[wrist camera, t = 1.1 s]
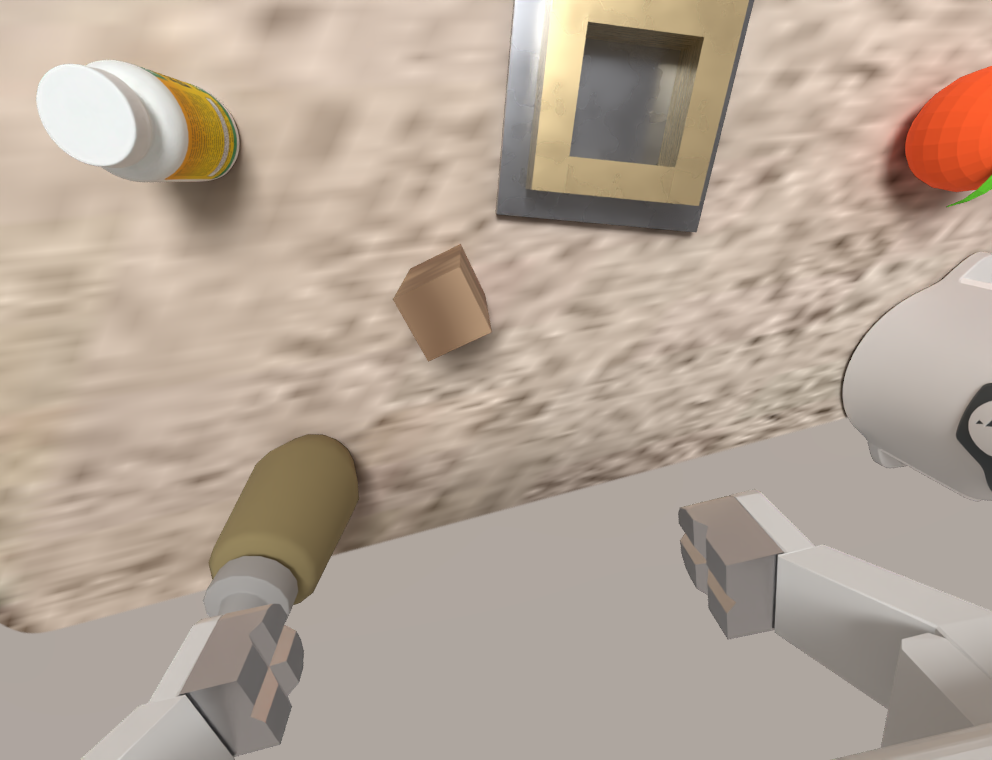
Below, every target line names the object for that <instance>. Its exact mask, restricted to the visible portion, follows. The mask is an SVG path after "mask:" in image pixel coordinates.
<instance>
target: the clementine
mask: <svg viewBox="0 0 992 760" xmlns="http://www.w3.org/2000/svg"><path fill="white" fill-rule="evenodd" d="M905 154H906V158H907V161H908V165H909V168H910V170H911V171H912V172H913V174H914V175H915V176H916V177H917V178H918V179H920V180H921V181H923V182H924V183H926V184H927V185H929V186H931V187H933V188H938V189H943V190H948V191H953V192H960V191H969V190H976V191H975V192H973V193H972V194H970V195H969V196H968V197H966V198H965V199H963V200H961V201H958V202H956V203H954V204H951V205H949V206H953V205H956V204H960V203H964V202H967V201H970V200H972V199H974V198H976V197H978V196H980V195H982V194H985V193H986V192H988V191H989V190H991V189H992V66H990V67H987V68H984V69H981V70H979V71H976V72H973V73H971V74H968V75H965V76H963V77H960V78H959V79H957V80H956V81H954V82H953V83H951V84H950V85H948V86H947V87H945V88H944V89H942V90H941V91H939V92H938V93H937V94H935V95H934V96H933V97H932V98H931V99H930V100H929V101H928V102H927V103H926V104H925V105H924V107H923V108H922V109H921V111H920V112H919V114H918V115H917V117H916V118H915V119H914V121H913V122H912V125H911V127H910V129H909V131H908V134H907V138H906V143H905ZM949 206H947V207H949Z"/></svg>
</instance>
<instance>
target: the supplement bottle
mask: <svg viewBox="0 0 992 760" xmlns="http://www.w3.org/2000/svg"><path fill="white" fill-rule="evenodd" d="M36 101H37V108H38V113H39V116H40V119H41V121H42V124H43V126H44V128H45V129H46V131H47V133H48V134H49V135H50V137H51V138H52V140H53V141H54V142H55V143H56V144H57V145H58V146H59V147H60V148H61V149H62V150H63V151H64V152H66V153H67V154H68V155H70V156H71V157H73V158H75V159H77V160H79V161H81V162H83V163H86V164H89V165H93V166H99V167H102V168H103V169H105V170H106V171H108V172H110V173H112V174H114V175H116V176H118V177H121V178H123V179H127V180H131V181H136V182H199V181H211V180H215V179H217V178H220V177H222V176H224V175H225V174H226V173H227V172H228V171H229V170H230V169H231V168H232V166H233V165H234V163H235V161H236V159H237V156H238V153H239V134H238V130H237V127H236V124H235V122H234V120H233V117H232V116H231V114H230V113H229V111H228V110H227V109H226V108H225V106H224V105H223V104H222V103H221V102H220V101H219V100H218V99H217V98H215V97H214V96H213V95H212V94H210V93H209V92H207V91H205V90H203V89H202V88H199V87H197V86H194V85H191V84H189V83H185V82H182V81H179V80H177V79H174V78H171V77H168V76H165V75H162V74H159V73H156V72H154V71H151V70H148V69H145V68H142V67H139V66H136V65H133V64H130V63H126V62H122V61H117V60H101V61H96V62H92V63H90V64H87V65H85V66H84V65H79V64H63V65H59V66H56V67H54V68H52V69H51V70H49V71H48V72H47V73H46V74H45V75H44V76H43V78H42V79H41V81H40V83H39V85H38V89H37V97H36Z"/></svg>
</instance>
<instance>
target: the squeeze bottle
mask: <svg viewBox="0 0 992 760" xmlns="http://www.w3.org/2000/svg"><path fill="white" fill-rule="evenodd" d="M358 500H359V494H358V481H357V476H356V471H355V466H354V461H353V458H352V457H351V455H350V453H349V451H348V449H347V448H346V447H344V446H343V445H342V444H341V443H340V442H338V441H337V440H335V439H333V438H330V437H327V436H324V435H310V434H308V435H305V436H302V437H299V438H296V439H294V440H292V441H290V442H288V443H286V444H284V445H282V446H280V447H278V448H276V449H274V450H272V451H270V452H269V453H268V454H267V455H266V456H265V457H264V458H262V459H261V460H260V461H259V462H258V463H257V464H256V465H255V467H254V469H253V471H252V473H251V475H250V477H249V479H248V481H247V483H246V485H245V487H244V489H243V491H242V493H241V495H240V497H239V499H238V501H237V503H236V505H235V507H234V509H233V511H232V513H231V515H230V517H229V519H228V521H227V523H226V524H225V526H224V528H223V530H222V532H221V534H220V536H219V538H218V540H217V542H216V544H215V546H214V548H213V551H212V554H211V557H210V560H209V567H210V571H211V576H212V579H213V580H212V582H211V584H210V585H209V587H208V589H207V591H206V594H205V597H204V600H203V601H204V605H205V609H206V613H207V614H208V615H209V617H214V616H219V615H224V614H226V613H231V612H235V611H240V610H245V609H250V608H255V607H259V606H264V605H269V604H281V606H282V608H283V609H284V611H285V612H286V614H287V615H288V616H289V613H290V611H291V609H292V606H293V605H295V604H298V603H300V602H302V601H303V600H304V599H306V598H307V597H308V596H309V595H311V594H312V593H313V592H314V590H315V588H316V586H317V584H318V582H319V580H320V578H321V576H322V573H323V572H324V570H325V567H326V565H327V563H328V561H329V559H330V557H331V555H332V553H333V551H334V549H335V547H336V545H337V543H338V541H339V539H340V537H341V535H342V533H343V531H344V529H345V527H346V525H347V523H348V521H349V519H350V517H351V515H352V513H353V511H354V508H355V506H356V504H357V502H358ZM288 616H287V618H288ZM286 620H287V619H286ZM285 622H286V621H285Z"/></svg>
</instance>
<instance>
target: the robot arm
mask: <svg viewBox="0 0 992 760" xmlns="http://www.w3.org/2000/svg"><path fill="white" fill-rule="evenodd" d="M843 404H844V408H845V412H846V414H847V416H848V418H849V420H850V422H851V423H852V424H853V426H854V427H855V428H856V429H857V430H858V431H859V432H860V433H862V434H863V435H864V437H865V438H866V439H867V441H868V445H869V450H870V454H871V457H872V459H873V460H874V461H875V462H876V463H878V464H880V465H882V466H884V467H886V468H896V467H904V466H909V467H911V468H913V469H915V470H916V471H918V472H920V473H921V474H923V475H925V476H927V477H928V478H930V479H932V480H934V481H936V482H938V483H939V484H941V485H943V486H945V487H947V488H948V489H950V490H952V491H954V492H956V493H957V494H959V495H961V496H963V497H965V498H967V499H970V500H973V501H981V500H992V253H989V252H984V251H981V252H977V253H974V254H972V255H971V256H969V257H968V258H966V259H965V260H964V261H963V262H961V263H960V264H959V265H958V266H957V267H956V268H954V269H953V270H952V271H951V272H950V273H949V274H948V275H947V276H946V277H945V278H944V279H942V280H941V281H939V282H938V283H936V284H934V285H932V286H930V287H928V288H926V289H924V290H922V291H920V292H918V293H916V294H914V295H912V296H911V297H909V298H907V299H905V300H904V301H902V302H901V303H899V304H898V305H896V306H895V307H894V308H892V309H891V310H890V311H889V312H887V313H886V314H885V315H884V316H883V317H882V318H881V319H880V320H879V321H878V322H877V323H876V324H875V325H874V326H873V327H872V328H871V329H870V330H869V332H868V333H867V334H866V335H865V337H864V338H863V339H862V341H861V342H860V344H859V345H858V347H857V349H856V350H855V352H854V354H853V356H852V358H851V360H850V362H849V365H848V368H847V371H846V374H845V378H844V383H843ZM678 515H679V524H680V526H681V527H682V529H683V530H684V532H685V534H684V536H683V537H682V539H681V540H680V544H681V553H682V557H683V560H684V563H685V567H686V569H687V571H688V574H689V576H690V578H691V580H692V581H693V583H694V585H695V587H696V588H697V589H698V590H700V591H702V592H703V593H705V594H707V595H708V606H709V610H710V611H711V613H712V615H713V616H714V618H715V619H716V621H717V623H718V624H719V626H720V628H721V629H722V631H723V633H724V634H725V635H726V637H727V639H732V638H737V637H742V636H747V635H752V634H757V633H762V632H767V631H771V630H775V633H776V634H778V635H779V636H781V637H782V638H784V639H785V640H786V641H788V642H789V643H791V644H792V645H794V646H795V647H797V648H798V649H800V650H801V651H803V652H804V653H806V654H807V655H809V656H810V657H811V658H813V659H815V660H816V661H817V662H819V663H820V664H822V665H823V666H825V667H826V668H828V669H829V670H831V671H832V672H834V673H835V674H837V675H838V676H840V677H841V678H842V679H844V680H845V681H847V682H848V683H850V684H851V685H853V686H854V687H856V688H857V689H859V690H860V691H862V692H863V693H865V694H866V695H868V696H869V697H871V698H872V699H873V700H875V701H876V702H878V703H879V704H881V705H882V706H884V707H885V708H887V709H888V712H887V718H886V723H885V728H884V733H883V738H882V743H881V748H878V749H874V750H870V751H866V752H861V753H857V754H853V755H849V756H845V757H840V758H836V759H832V760H992V611H990V610H988V609H985V608H983V607H980V606H978V605H975V604H972V603H970V602H967V601H965V600H963V599H960V598H958V597H955V596H952V595H950V594H947V593H945V592H942V591H940V590H937V589H935V588H932V587H930V586H927V585H925V584H922V583H920V582H917V581H914V580H912V579H910V578H907V577H904V576H902V575H900V574H897V573H894V572H892V571H889V570H887V569H884V568H882V567H879V566H877V565H874V564H872V563H869V562H867V561H864V560H862V559H859V558H857V557H854V556H852V555H849V554H846V553H844V552H841V551H839V550H836V549H834V548H831V547H829V546H826V545H819V546H815V545H814V544H813V543H812V542H811V541H810V540H809V539H808V538H807V537H806V536H805V535H804V534H803V533H802V532H801V531H800V530H799V529H798V528H797V527H796V526H794V524H792V522H791V521H790V520H789V519H787V518H786V517H785V515H783V513H781V512H780V511H779V510H778V509H777V508H776V507H775V506H774V505H773V504H772V503H771V502H770V501H769V500H768V499H767V498H766V497H765V496H764V495H763V494H762V493H761V492H760V491H758V490H756V489H752V490H748V491H744V492H740V493H736V494H733V495H729V496H725V497H721V498H717V499H713V500H709V501H705V502H701V503H697V504H692V505H689V506H684V507H681V508H680V510H679V514H678ZM287 616H288V615H287V614H286V612H285V611H284V609H283V608H282V606H281V604H269V605H264V606H259V607H255V608H250V609H245V610H240V611H235V612H231V613H226V614H224V615H219V616H214V617H209V618H205V619H201V620H200V621H198V622H197V623H196V624H194V625H193V627H192V628H191V630H190V632H189V634H188V635H187V637H186V639H185V640H184V642H183V644H182V646H181V647H180V649H179V651H178V652H177V654H176V656H175V658H174V659H173V661H172V663H171V665H170V666H169V668H168V670H167V671H166V673H165V675H164V676H163V678H162V680H161V682H160V683H159V685H158V687H157V688H156V690H155V692H154V694H153V696H152V697H151V699H150V701H149V702H148V703H147V704H143V705H140V706H138V707H137V708H136V709H135V710H134V711H133V712H132V713H131V714H130V715H128V716H127V717H126V718H125V719H124V720H123V721H122V722H121V723H120V724H119V725H117V726H116V727H115V728H114V729H113V730H112V731H111V732H110V733H109V734H108V735H107V736H105V737H104V738H103V739H102V740H101V741H100V742H99V743H98V744H97V745H96V746H95V747H93V748H92V749H91V750H90V751H89V752H88V753H87V754H86V755H85V756H84V757H82V758H81V759H80V760H235V759H234V757H236V756H239V755H243V754H247V753H251V752H254V751H258V750H262V749H265V748H269V747H273V746H277V745H280V744H281V741H282V737H283V734H284V731H285V727H286V724H287V721H288V718H289V714H290V711H291V708H292V706H291V703H290V701H289V698H288V695H289V694H290V693H291V691H292V690H293V689H294V688H295V687H296V686H297V684H298V683H299V681H300V677H301V674H302V670H303V658H304V650H303V646H302V642H301V639H300V637H299V635H298V633H297V631H295V630H293V629H291V628H290V627H287V626H286V625H284V624H285V621H286V619H287Z"/></svg>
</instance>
